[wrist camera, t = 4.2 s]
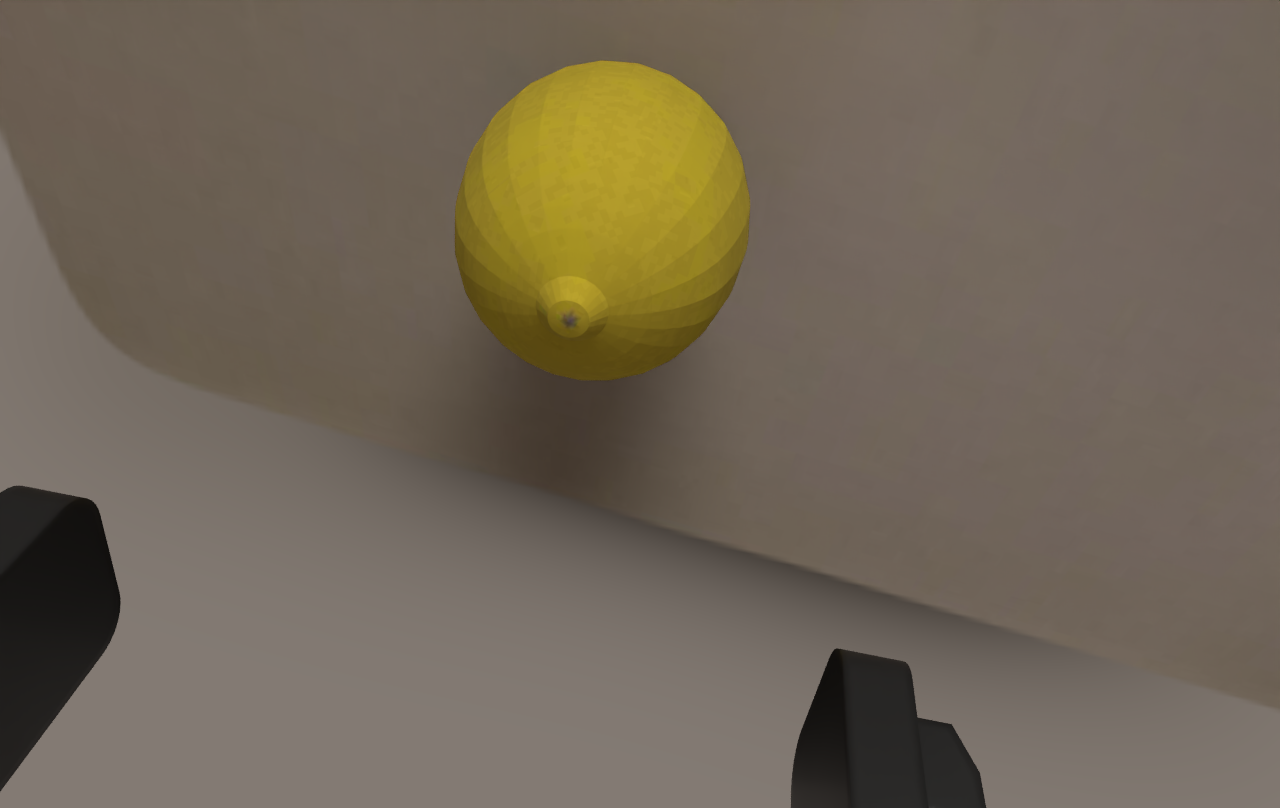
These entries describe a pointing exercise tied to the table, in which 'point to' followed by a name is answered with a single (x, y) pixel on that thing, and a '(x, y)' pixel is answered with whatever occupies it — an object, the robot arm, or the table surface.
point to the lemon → (602, 220)
